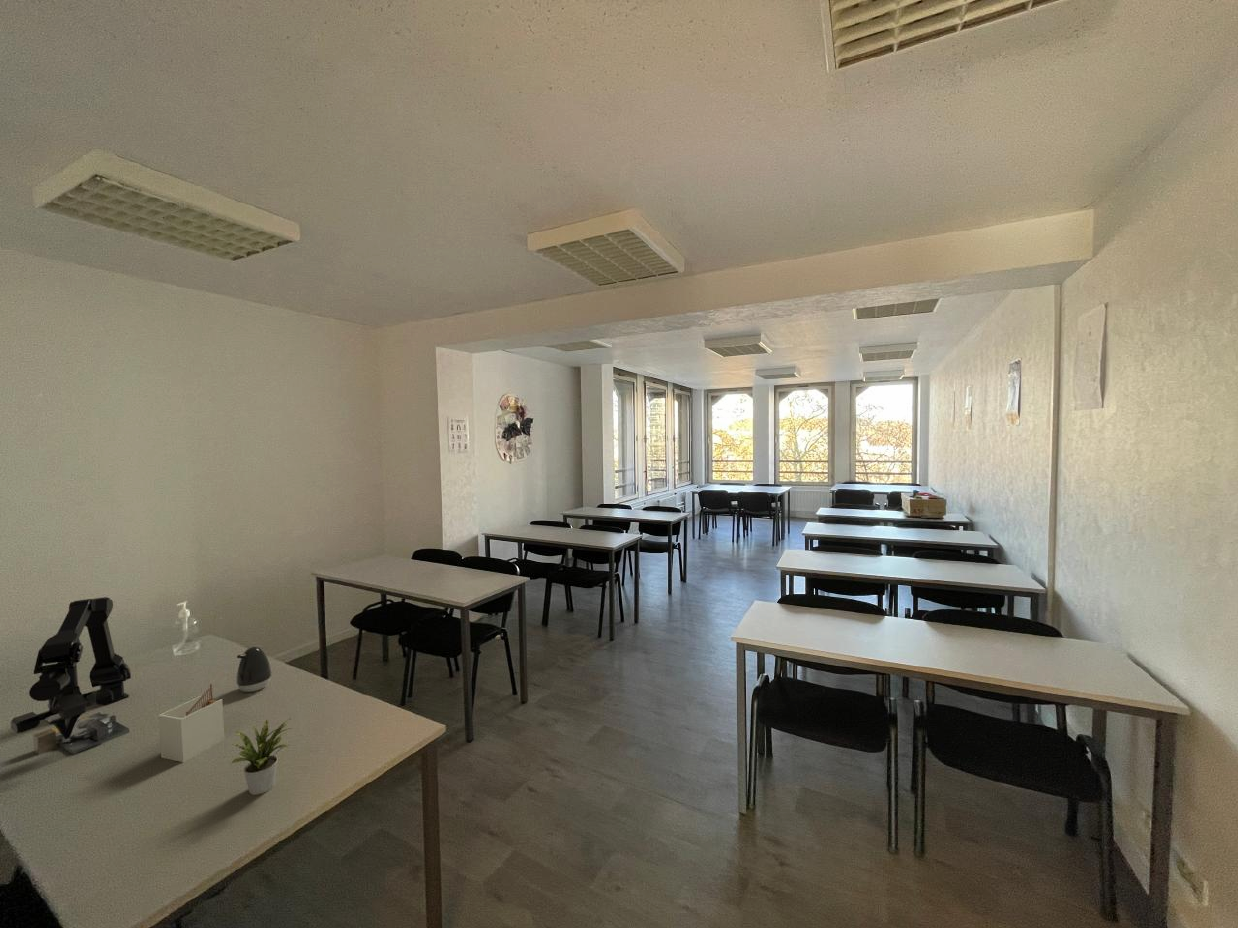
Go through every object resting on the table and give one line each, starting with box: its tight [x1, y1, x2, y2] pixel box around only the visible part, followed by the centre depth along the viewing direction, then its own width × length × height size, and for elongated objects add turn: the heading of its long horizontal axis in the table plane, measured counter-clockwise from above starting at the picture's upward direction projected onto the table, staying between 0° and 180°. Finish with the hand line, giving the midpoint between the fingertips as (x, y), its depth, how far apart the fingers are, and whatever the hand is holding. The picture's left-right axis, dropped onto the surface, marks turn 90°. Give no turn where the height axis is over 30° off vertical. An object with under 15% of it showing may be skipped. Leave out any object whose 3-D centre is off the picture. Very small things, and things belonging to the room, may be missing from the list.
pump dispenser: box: [235, 646, 273, 693], centre depth 175 cm, size 10×10×15 cm
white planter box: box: [158, 683, 225, 763], centre depth 141 cm, size 9×11×17 cm
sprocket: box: [56, 713, 117, 742], centre depth 148 cm, size 18×12×4 cm
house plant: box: [229, 717, 293, 796], centre depth 124 cm, size 14×14×16 cm
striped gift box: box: [32, 728, 58, 756], centre depth 142 cm, size 4×4×5 cm
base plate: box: [52, 712, 130, 755], centre depth 150 cm, size 22×12×1 cm, turn 64°
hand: (66, 738), depth 140 cm, fingers closed
